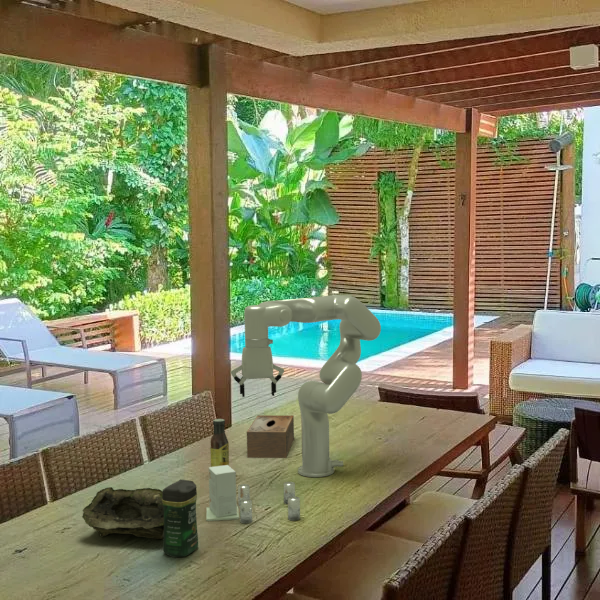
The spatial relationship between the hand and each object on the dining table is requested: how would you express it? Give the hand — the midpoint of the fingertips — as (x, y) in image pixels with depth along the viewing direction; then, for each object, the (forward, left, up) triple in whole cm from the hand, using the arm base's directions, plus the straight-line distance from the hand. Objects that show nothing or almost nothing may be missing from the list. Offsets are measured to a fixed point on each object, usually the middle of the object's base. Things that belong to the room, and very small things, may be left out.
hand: (258, 395), depth 267 cm
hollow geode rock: (+38, +38, -31) cm, 62 cm away
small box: (+13, +24, -30) cm, 40 cm away
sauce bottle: (+13, -12, -31) cm, 35 cm away
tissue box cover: (-7, -45, -31) cm, 55 cm away
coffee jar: (+24, +50, -31) cm, 63 cm away
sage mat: (+13, +24, -30) cm, 41 cm away
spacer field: (-1, +24, -30) cm, 39 cm away
